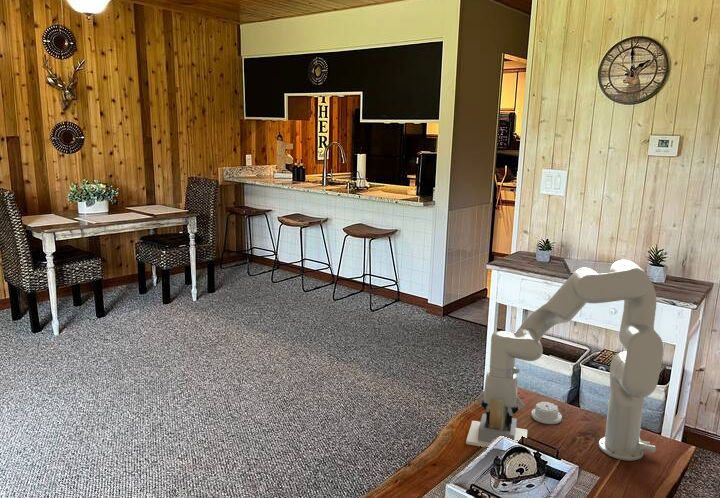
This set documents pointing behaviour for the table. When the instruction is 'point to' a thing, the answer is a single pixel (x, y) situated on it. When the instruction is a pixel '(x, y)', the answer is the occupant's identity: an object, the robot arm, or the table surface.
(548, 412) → the mechanical component
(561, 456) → the table surface
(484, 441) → the square socket base
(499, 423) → the skincare box
